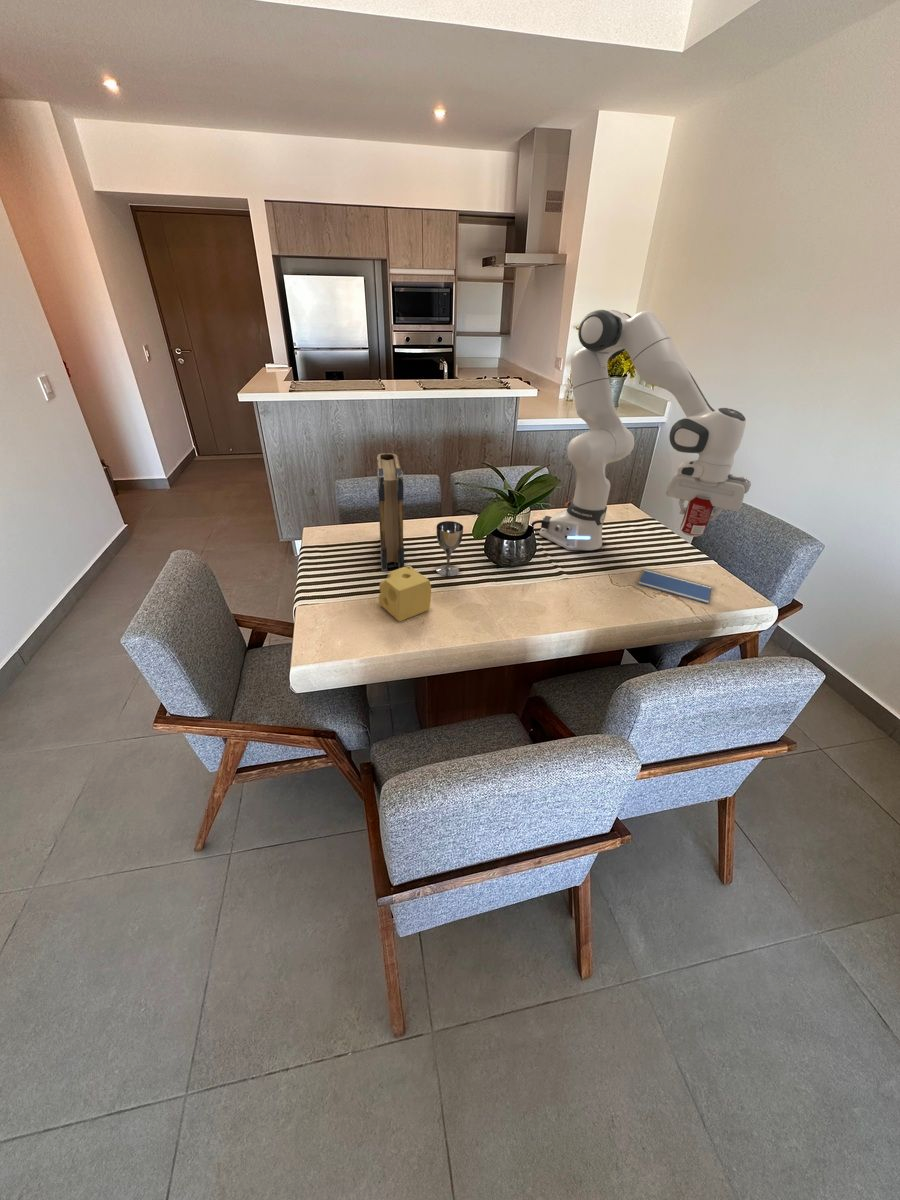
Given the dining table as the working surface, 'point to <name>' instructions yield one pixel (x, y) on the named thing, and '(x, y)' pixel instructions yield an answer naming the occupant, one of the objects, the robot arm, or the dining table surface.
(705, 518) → the soda can
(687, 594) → the blue rectangular panel
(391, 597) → the cheese
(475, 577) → the dining table surface
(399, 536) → the decorative book
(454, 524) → the wine glass
